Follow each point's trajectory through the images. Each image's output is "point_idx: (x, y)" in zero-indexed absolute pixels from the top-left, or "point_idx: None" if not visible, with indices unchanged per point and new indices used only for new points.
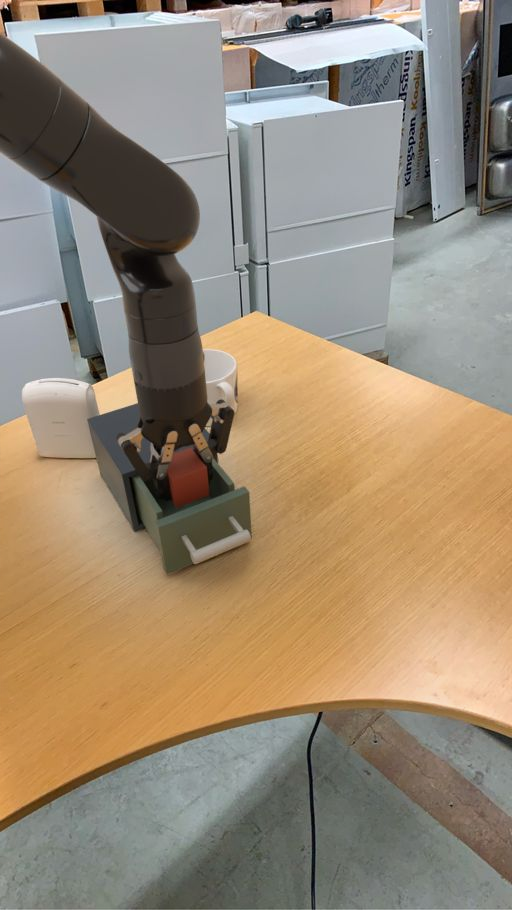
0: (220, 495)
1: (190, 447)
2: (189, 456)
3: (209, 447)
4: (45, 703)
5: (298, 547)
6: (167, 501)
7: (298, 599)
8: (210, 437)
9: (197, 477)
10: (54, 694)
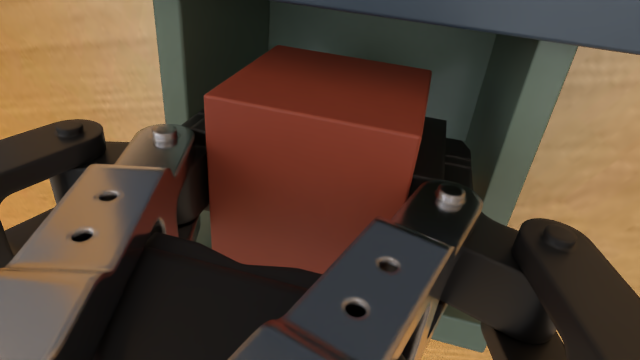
0: (474, 150)
1: (490, 4)
2: (362, 195)
3: (460, 297)
4: (24, 215)
5: None
6: None
7: (432, 345)
8: (528, 272)
9: None
10: (35, 212)
